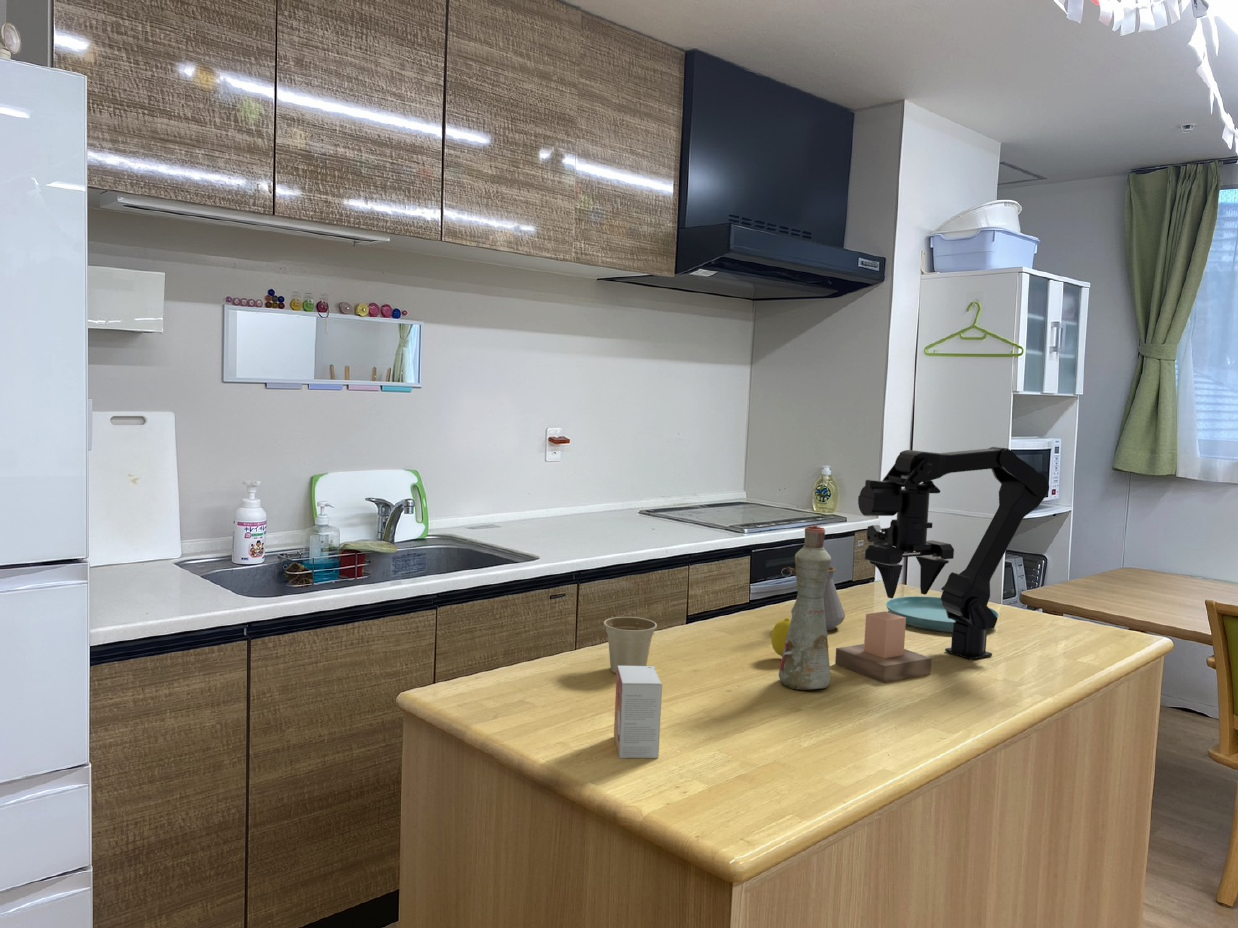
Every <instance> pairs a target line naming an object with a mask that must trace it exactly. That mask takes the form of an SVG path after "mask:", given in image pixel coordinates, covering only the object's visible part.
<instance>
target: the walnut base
mask: <svg viewBox="0 0 1238 928" xmlns="http://www.w3.org/2000/svg"><path fill="white" fill-rule="evenodd" d="M932 660H933V658H932V657H929V656H926V655H923V654H921V653H918V652H914V651H911V650H908V649H907V648H904V655H902V656H896V657H890V658H882V657H879V656H876V655H873V654H871V653H868V652H865V651H864V643H862V644H855V645H848V646H842V647H841V646H840V647H836V648H835V661H834V663H835V665H837V666H839V667H842V668H845V669H848V670H850V671H852V672H856V673H858V674H860V675H862V676H866V677H868V678H870V679H872V680H873V679H874V680H876V681H878V682H880V683H889V682H896V681H900V680H901V681H903V680H906V679H911V678H912V679H913V678H917V677H922V676H928V675H931V672H932Z"/></svg>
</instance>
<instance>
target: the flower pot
mask: <svg viewBox="0 0 1238 928" xmlns="http://www.w3.org/2000/svg"><path fill="white" fill-rule="evenodd" d="M603 627H605V632H606V633H607V640H608V641H607V642H608V653H609V654H608V655H609V664H610V671H611V672H612V673H614V674H616V675H617V666H648V665H647V664H648V661H649V655H650V649H651V642H652V639H653V636H654V634H655V630H656V629H657V627H658V624H657V622H655V621H653V620H651V619H648V618H647V619H646V618H642V617H636V616H616V617H615V616H614V617H610V618H607V619H605V620H604V621H603Z"/></svg>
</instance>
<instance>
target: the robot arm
mask: <svg viewBox="0 0 1238 928" xmlns="http://www.w3.org/2000/svg"><path fill="white" fill-rule="evenodd" d="M982 470H991V472H992V474H993V476H994V479H995V480H996V481H998V483H999V484H1001V485H1000V487H999V490H998V505H999V506H998V508H997V509H996V511H995V513H994V515H993V518H992V519H991V521H990V523H989V525H988V527H987V529H986V530H985V532H984V535H982V538H981V539H980V541H979V544H978V545H977V547H976V549H975V551H974V553H973V555H972V556H971V558H970V560H969V562H968V564H967V565H966V568H965V569H964V570H962V571H961V572H959V573H957V572H951V573H950V574H949V575H948V577H947V580H946V582H945V584H944V585H943V586H942V587H941V589H940V590H941V591H942V593H941V595H940V598H941V600H942V605H943V607H944V609H946V613H947V617H948V618H949V619H952V620H955V623H953V631H952V632H951V643H950V644H951V646H950V647H946V648H945V649H944V651H945V652H947V653H951V654H953V655H956V656H959V657H963V658H964V659H965V658H966V659H969V660H975V659H976V660H977V659H982V658H988V657H992V656H993V652H988V651H986V649H987V637H988V636H987V635H988V630H989V629H995V626H996V625H997V622H998V619H997V617H996V616H995V615H994V613H993V612H992V611H991V610H990V609H989V608H990V607H989V606H988V605H989V604H988V603H989V601H990V598H991V579H992V578H993V575H994V574H995V572H996V570H997V569H998V566H999V564H1000V562H1001V561H1002V559H1003V557H1004V555H1005V553H1006V551H1007V549H1008V547H1009V546H1010V544H1011V542H1012V540H1013V538H1014V536H1015V534H1016V532H1017V531H1018V529H1019V527H1020V525H1021V523H1022V521H1023V520H1024V518H1025V517H1026V516H1028V515H1029V514H1031V513H1032V512H1033V511H1034V510H1036V509H1037V508H1039V507H1040V504H1041V503H1042V502H1043V501H1044V499H1045V498H1046V497H1047V495H1048V493H1049V490H1050V484H1049V481H1048V479H1047V477H1046V476H1045V474H1043V473H1042V472H1038V471H1037V470H1036V469H1035V468H1034V467H1033V466H1031V465H1030V464H1029V463H1027V462H1026V461H1024V460H1022V459H1021V458H1020V457H1019V456H1017V454H1016V453H1014V451H1012V450H1011V449H1009V448H1006V447H999V446H998V447H997V446H991V447H987V448H981V449H980V448H979V449H973V450H972V449H971V450H961V451H959V450H958V451H949V452H932V451H931V452H929V451H924V450H923V451H921V450H915V449H914V450H912V449H906V450H902V451H900V453H899V454H898V456H896V459H895V463H894V464H893V465H892V467H891V468H890V470H889V471H888V472H887V474H886V475H885V476H884V477H883V478H882V480H875V479H865V484H864V486H863V487H862V489H860V492H859V495H858V497H857V504H858V508H859V511H860V513H861V514H862V515H863V516H864V517H866V516H867V517H873V516H874V517H894V516H896V519H891V521H890V525H889V527H886V528H885V527H884V528H882V527H881V526H880V525H879V524H876V525H875V524H874V525H869V526H867V527H866V528H867V531H866V540H867V541H868V543H873V544H869V545H867V547H866V548H865V549H864V550H865V552H864V559H865V560H866V561H867V560H868V561H869V564H872V565H874V566H875V567H876V568H877V570H878V571H879V574H880V576H881V579H882V583H883V586H884V589H885V593H886V596H887V598H888V599H890V600H891V599H894V597H895V594H896V591H897V588H898V585H899V580H900V577H901V574H902V569H903V567H904V565H903V564H900V563H902V561H903V558H911V557H912V558H913V557H915V558H916V560H917V562H918V564H919V567H920V568H919V569H920V570H919V571H920V574H919V575H920V576H919V577H920V580H919V583H920V584H919V586H920V589H919V590H920V594H921V595H924V596H925V595H927V594H928V593H929V590H930V589H931V587H932V585H934V583H935V580H936V579H937V577H938V576H939V574H940V573H941V571H942V570H943V569H944V567H945V566H946V564H949V563H950V560H952V559H953V560H954V555H955V548H954V547H953V545H952V544H951V543H947V542H942V541H937V540H927V536H928V529H933V522H929V507H930V494H940V493H941V490H940V489H939V488H938V486H937V485H935V483H934V480H937V479H940V478H943V477H944V476H946V475H949V474H952V473H962V472H971V471H972V472H973V471H982ZM988 607H989V608H988Z"/></svg>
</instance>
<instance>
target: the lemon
mask: <svg viewBox="0 0 1238 928" xmlns="http://www.w3.org/2000/svg"><path fill="white" fill-rule="evenodd" d="M790 623H791V619H790V618H789V617H785V618H784V619H783V620H779V621H778V622H777V623H776V624H775V625H774V627H773V628H772V632H771V645H772V649H773V650H774V652H775V653H776V654H777V655H778V656H780V657H781V658H782V656H783V651H784V647H785V643H786V639H787V635H788V631H789V627H790Z"/></svg>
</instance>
